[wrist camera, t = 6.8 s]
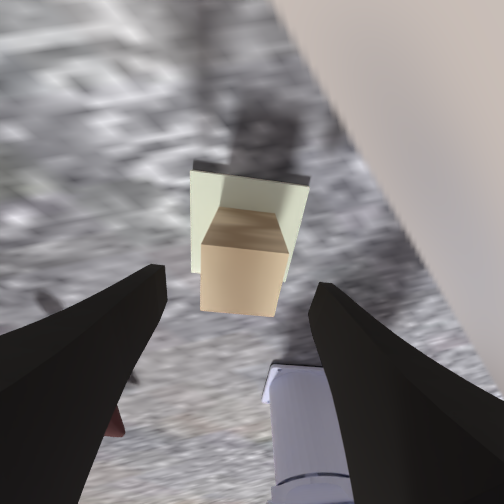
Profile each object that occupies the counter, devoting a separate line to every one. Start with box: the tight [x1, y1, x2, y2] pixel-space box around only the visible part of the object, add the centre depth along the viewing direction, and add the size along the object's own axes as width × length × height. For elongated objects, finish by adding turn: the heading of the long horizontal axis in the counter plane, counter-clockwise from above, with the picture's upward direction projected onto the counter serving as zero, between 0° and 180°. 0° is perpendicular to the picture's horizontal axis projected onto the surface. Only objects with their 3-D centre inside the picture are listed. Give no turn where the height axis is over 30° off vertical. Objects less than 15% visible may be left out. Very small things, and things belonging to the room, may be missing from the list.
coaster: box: [190, 170, 310, 282], centre depth 16 cm, size 8×8×1 cm
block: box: [200, 207, 289, 317], centre depth 13 cm, size 4×4×6 cm
